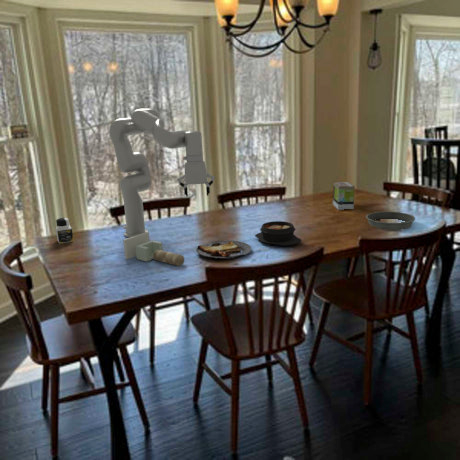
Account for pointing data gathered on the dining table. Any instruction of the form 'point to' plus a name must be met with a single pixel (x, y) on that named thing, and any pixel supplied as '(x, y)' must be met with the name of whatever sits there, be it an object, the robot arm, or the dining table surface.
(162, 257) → the dowel
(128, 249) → the base
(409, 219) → the cake pan
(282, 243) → the casserole
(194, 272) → the dining table surface
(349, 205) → the tea box
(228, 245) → the food plate
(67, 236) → the black and yellow box
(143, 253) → the block
